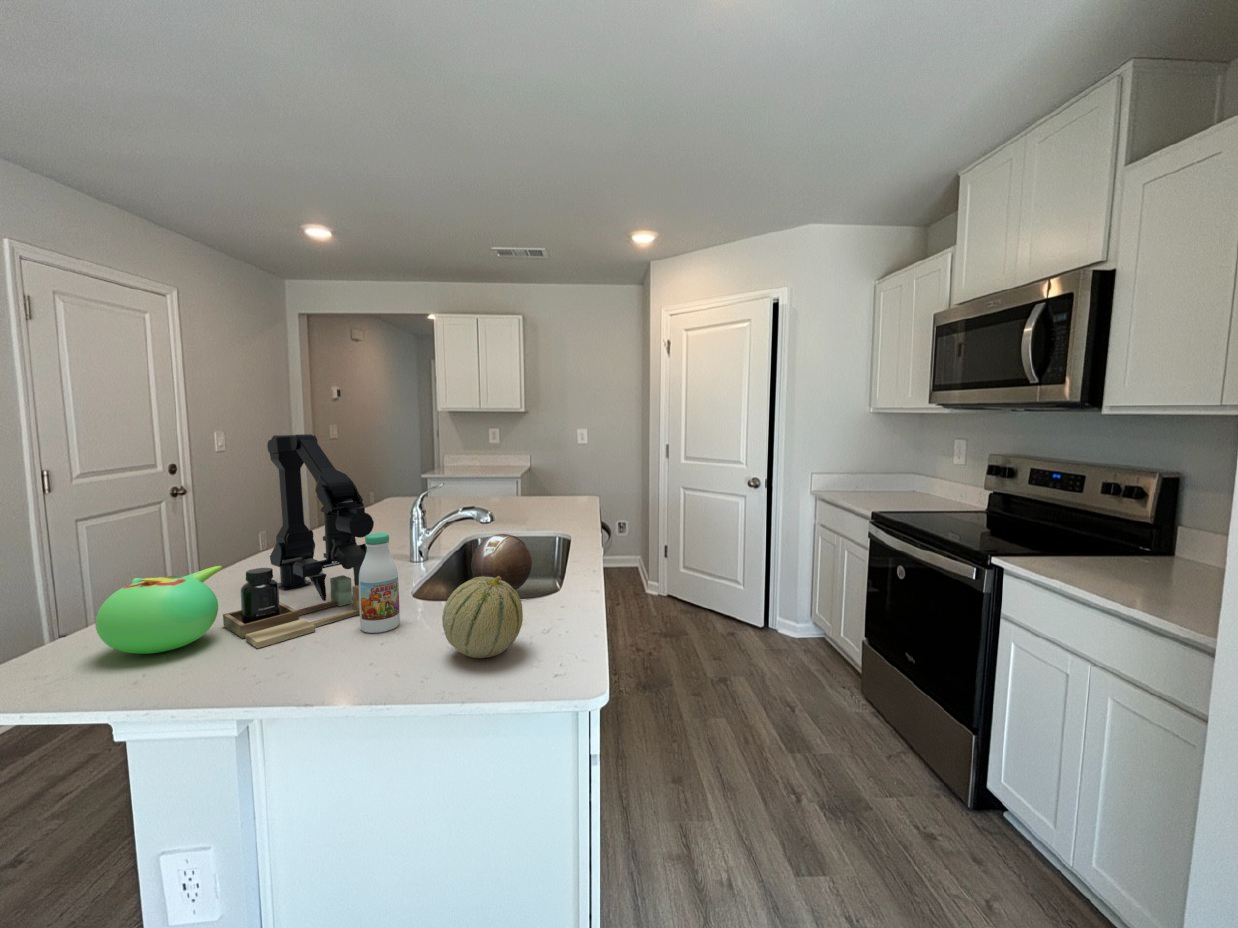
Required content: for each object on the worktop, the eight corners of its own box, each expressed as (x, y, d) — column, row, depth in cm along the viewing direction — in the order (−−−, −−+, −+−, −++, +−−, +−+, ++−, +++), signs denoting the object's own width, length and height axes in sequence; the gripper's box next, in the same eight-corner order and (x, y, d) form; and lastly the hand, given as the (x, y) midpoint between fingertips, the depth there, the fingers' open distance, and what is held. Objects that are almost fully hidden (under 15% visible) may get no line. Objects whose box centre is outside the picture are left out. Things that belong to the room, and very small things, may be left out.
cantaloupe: (441, 644, 107) (439, 569, 106) (516, 633, 112) (515, 562, 111) (445, 677, 93) (443, 592, 92) (530, 664, 98) (529, 583, 97)
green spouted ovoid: (76, 673, 94) (69, 591, 93) (134, 635, 111) (128, 565, 109) (197, 661, 99) (192, 582, 98) (235, 626, 115) (231, 559, 114)
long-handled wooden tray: (245, 640, 108) (243, 610, 107) (362, 607, 127) (361, 582, 126) (257, 648, 104) (255, 617, 104) (376, 612, 123) (375, 587, 123)
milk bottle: (352, 629, 114) (348, 536, 112) (383, 617, 121) (380, 529, 119) (377, 636, 110) (373, 540, 109) (407, 624, 117) (405, 533, 115)
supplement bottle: (266, 631, 113) (263, 575, 112) (234, 631, 113) (230, 574, 112) (287, 619, 120) (284, 566, 119) (257, 618, 120) (253, 565, 119)
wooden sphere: (463, 602, 131) (462, 541, 130) (481, 583, 146) (480, 528, 145) (525, 603, 131) (524, 541, 129) (537, 583, 146) (536, 528, 144)
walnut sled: (223, 625, 115) (221, 598, 115) (337, 596, 134) (336, 572, 134) (242, 638, 109) (240, 609, 108) (359, 605, 128) (358, 580, 127)
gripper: (312, 544, 116) (316, 615, 117) (394, 529, 131) (396, 592, 132) (290, 537, 123) (293, 604, 124) (370, 524, 138) (372, 584, 139)
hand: (341, 596), depth 130 cm, fingers open, 8 cm apart
